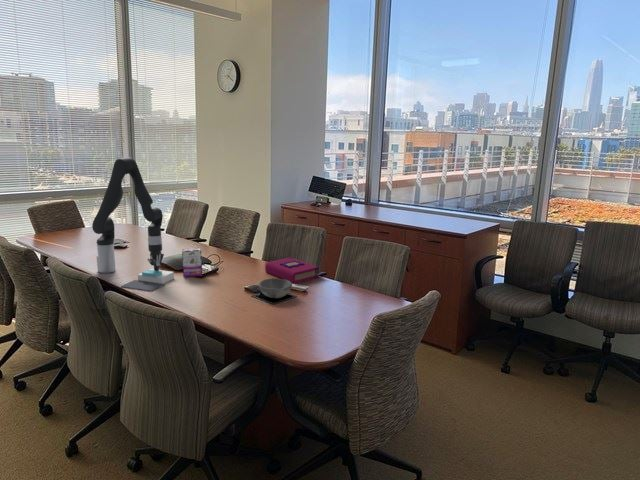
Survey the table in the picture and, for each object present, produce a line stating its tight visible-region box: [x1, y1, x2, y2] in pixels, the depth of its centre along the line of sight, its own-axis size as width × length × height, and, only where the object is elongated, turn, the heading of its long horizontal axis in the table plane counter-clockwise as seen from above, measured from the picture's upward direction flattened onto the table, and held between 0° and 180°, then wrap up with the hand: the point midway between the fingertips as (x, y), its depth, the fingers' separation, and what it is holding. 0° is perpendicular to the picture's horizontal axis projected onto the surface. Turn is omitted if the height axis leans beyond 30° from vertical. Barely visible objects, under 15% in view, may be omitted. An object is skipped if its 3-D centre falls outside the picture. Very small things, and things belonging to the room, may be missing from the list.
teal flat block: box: [141, 268, 162, 277], centre depth 275 cm, size 9×6×2 cm, turn 74°
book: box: [264, 257, 320, 284], centre depth 296 cm, size 21×28×8 cm
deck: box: [137, 268, 175, 284], centre depth 279 cm, size 16×12×4 cm
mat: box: [120, 279, 166, 292], centre depth 268 cm, size 20×12×1 cm, turn 73°
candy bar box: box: [181, 247, 203, 278], centre depth 288 cm, size 11×5×16 cm, turn 105°
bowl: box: [258, 277, 293, 299], centre depth 258 cm, size 18×18×8 cm
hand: (156, 271), depth 279 cm, fingers closed
